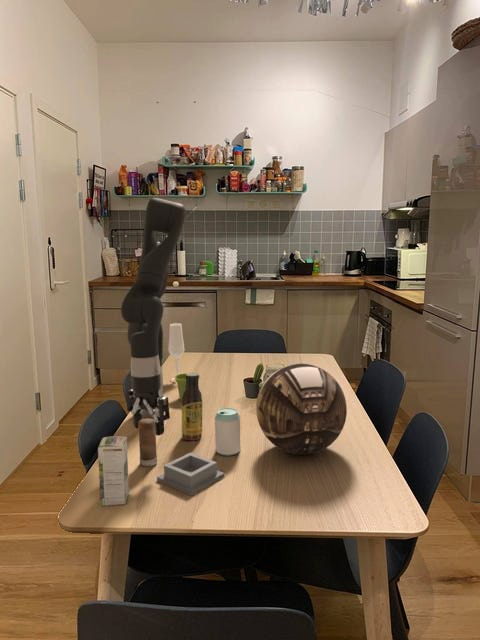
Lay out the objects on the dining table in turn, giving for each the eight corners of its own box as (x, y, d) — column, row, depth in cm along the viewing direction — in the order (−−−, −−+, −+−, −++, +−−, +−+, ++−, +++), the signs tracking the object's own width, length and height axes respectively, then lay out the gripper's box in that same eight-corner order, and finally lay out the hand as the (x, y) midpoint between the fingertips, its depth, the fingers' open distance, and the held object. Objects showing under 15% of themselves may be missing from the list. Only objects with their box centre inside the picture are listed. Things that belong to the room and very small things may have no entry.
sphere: (327, 430, 157) (329, 352, 153) (360, 466, 133) (362, 374, 129) (249, 436, 153) (248, 356, 149) (267, 475, 129) (267, 380, 125)
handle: (136, 464, 136) (134, 422, 134) (149, 458, 139) (147, 417, 137) (147, 469, 133) (145, 426, 131) (160, 463, 136) (159, 421, 134)
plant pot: (170, 401, 187) (169, 378, 185) (182, 393, 195) (182, 371, 194) (193, 404, 183) (192, 380, 182) (204, 396, 192) (204, 374, 190)
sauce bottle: (186, 443, 149) (184, 378, 146) (178, 435, 155) (176, 373, 151) (206, 438, 152) (205, 375, 149) (198, 431, 158) (196, 370, 154)
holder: (157, 480, 127) (156, 465, 126) (190, 463, 136) (190, 449, 135) (191, 495, 119) (190, 480, 119) (224, 476, 128) (224, 461, 128)
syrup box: (104, 493, 121) (101, 436, 118) (129, 492, 121) (126, 435, 119) (100, 506, 115) (96, 446, 113) (126, 505, 116) (123, 445, 113)
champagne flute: (188, 379, 213) (187, 323, 209) (178, 383, 208) (176, 326, 204) (176, 377, 217) (174, 322, 213) (166, 381, 211) (164, 325, 207)
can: (231, 458, 138) (231, 417, 136) (210, 453, 142) (209, 412, 140) (245, 449, 144) (244, 409, 142) (224, 444, 148) (223, 405, 146)
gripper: (175, 373, 130) (177, 432, 133) (138, 365, 139) (141, 421, 142) (153, 379, 125) (156, 441, 127) (116, 371, 133) (120, 429, 136)
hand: (148, 431), depth 134 cm, fingers open, 8 cm apart
